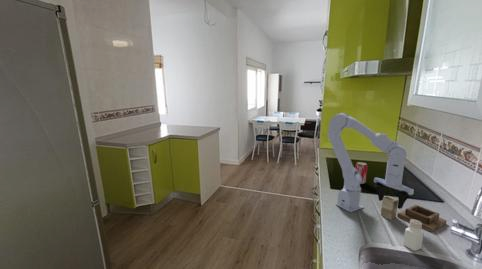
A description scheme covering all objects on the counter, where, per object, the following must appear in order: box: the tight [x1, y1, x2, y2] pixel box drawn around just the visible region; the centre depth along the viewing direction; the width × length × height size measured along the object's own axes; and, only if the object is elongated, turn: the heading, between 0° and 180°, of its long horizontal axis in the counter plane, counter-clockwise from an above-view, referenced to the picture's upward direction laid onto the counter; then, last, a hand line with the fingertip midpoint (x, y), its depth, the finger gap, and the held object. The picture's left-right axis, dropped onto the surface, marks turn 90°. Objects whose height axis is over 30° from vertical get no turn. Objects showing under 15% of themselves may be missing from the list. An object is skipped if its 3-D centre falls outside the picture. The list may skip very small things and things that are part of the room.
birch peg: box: [380, 195, 398, 221], centre depth 93 cm, size 4×4×8 cm
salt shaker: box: [402, 219, 424, 252], centre depth 74 cm, size 4×4×10 cm
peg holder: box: [396, 204, 448, 233], centre depth 90 cm, size 12×12×4 cm
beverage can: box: [355, 161, 369, 185], centre depth 128 cm, size 6×6×12 cm
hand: (390, 203), depth 92 cm, fingers open, 7 cm apart
